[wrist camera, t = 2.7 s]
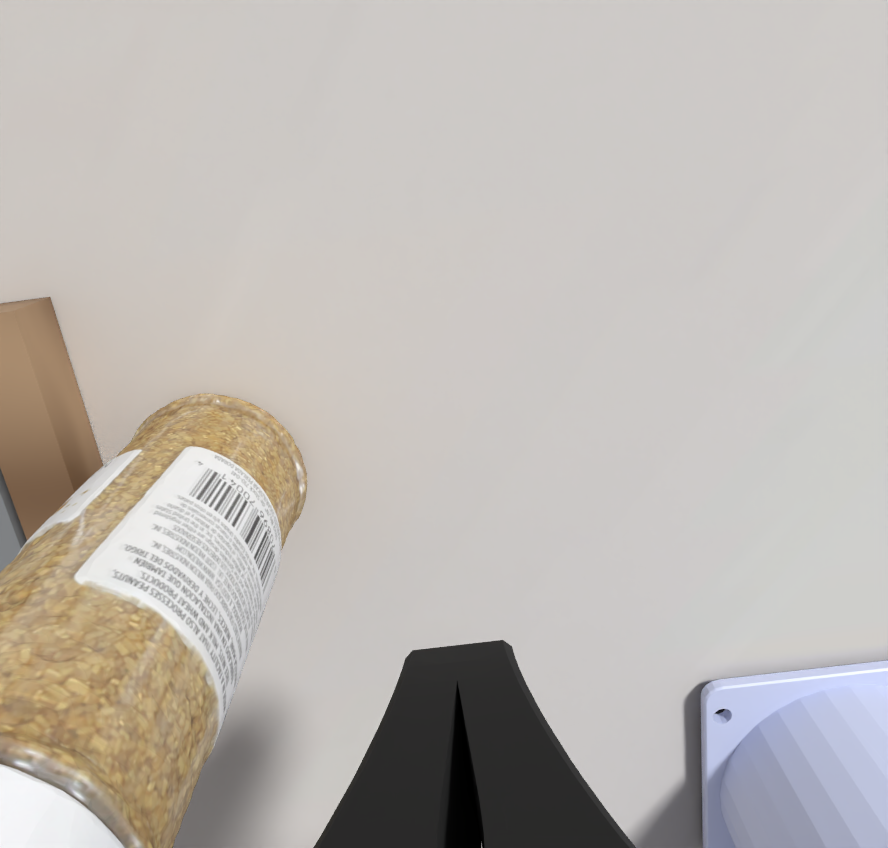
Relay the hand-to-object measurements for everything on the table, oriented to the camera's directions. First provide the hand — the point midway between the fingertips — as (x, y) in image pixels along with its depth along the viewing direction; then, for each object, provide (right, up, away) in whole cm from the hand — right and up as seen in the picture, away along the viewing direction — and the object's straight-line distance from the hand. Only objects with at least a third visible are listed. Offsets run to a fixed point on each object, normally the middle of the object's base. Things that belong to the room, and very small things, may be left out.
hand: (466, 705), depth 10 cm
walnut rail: (-10, +2, +9) cm, 13 cm away
